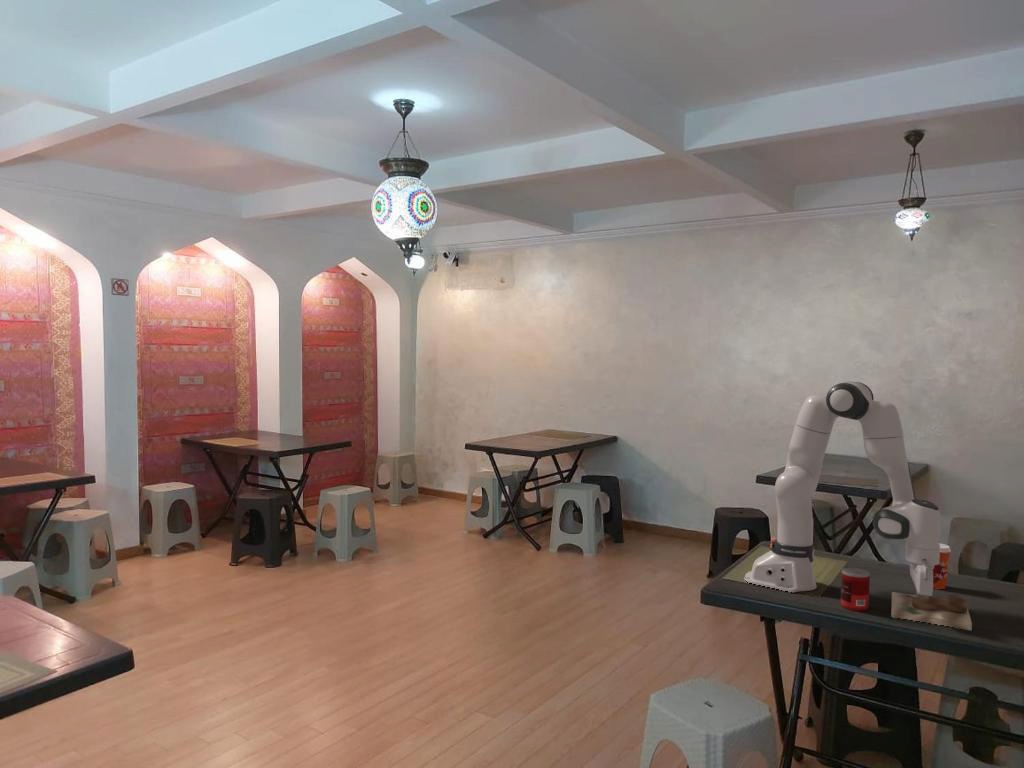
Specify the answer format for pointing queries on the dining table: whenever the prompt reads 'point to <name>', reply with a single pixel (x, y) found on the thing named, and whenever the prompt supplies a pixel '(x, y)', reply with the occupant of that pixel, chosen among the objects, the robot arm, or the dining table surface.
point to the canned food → (855, 589)
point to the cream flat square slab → (928, 613)
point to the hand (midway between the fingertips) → (920, 601)
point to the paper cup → (941, 568)
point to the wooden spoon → (941, 603)
